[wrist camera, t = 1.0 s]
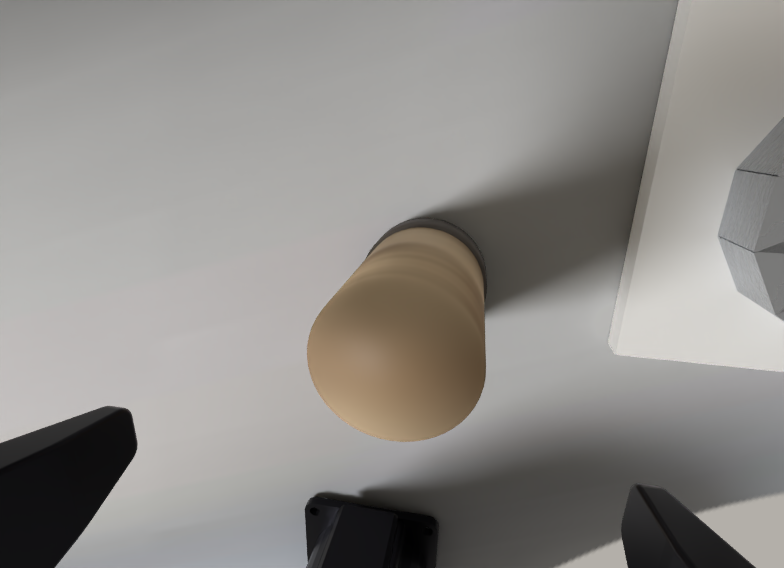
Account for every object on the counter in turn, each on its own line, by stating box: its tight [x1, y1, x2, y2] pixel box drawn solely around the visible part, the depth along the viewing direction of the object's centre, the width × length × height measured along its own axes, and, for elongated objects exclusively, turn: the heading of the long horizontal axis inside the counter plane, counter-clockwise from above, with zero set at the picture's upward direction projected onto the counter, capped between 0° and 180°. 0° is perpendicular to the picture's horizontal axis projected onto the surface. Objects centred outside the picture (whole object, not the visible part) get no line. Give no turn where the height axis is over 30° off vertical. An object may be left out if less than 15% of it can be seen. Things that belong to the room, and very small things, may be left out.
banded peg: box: [307, 218, 487, 442], centre depth 14 cm, size 5×5×7 cm
